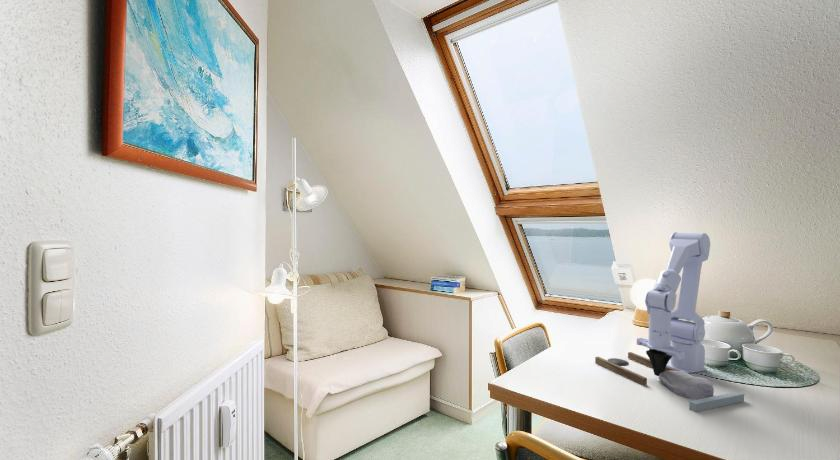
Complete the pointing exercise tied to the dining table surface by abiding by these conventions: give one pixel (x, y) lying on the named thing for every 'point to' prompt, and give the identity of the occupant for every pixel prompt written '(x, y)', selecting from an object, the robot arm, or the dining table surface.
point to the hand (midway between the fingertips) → (658, 375)
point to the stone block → (686, 384)
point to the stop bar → (716, 401)
